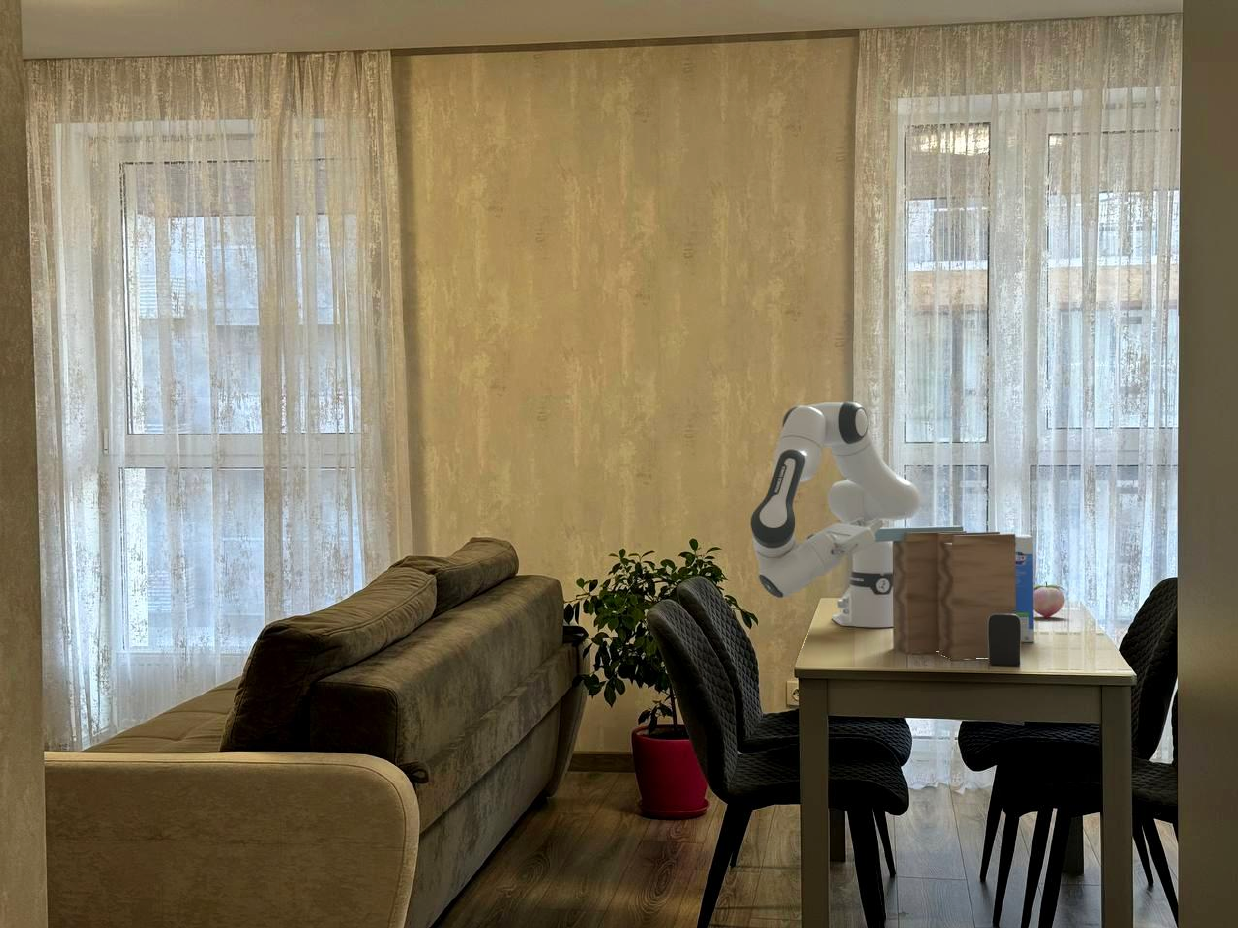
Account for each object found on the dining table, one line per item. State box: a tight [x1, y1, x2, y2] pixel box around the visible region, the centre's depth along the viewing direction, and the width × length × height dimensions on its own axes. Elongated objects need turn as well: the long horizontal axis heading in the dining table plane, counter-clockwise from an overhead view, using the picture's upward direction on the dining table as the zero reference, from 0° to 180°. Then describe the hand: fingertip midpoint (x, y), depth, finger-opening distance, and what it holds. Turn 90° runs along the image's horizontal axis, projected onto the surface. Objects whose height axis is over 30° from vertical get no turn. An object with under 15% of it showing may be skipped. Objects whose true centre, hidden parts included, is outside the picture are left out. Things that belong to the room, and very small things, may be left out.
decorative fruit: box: [1033, 581, 1066, 619], centre depth 351 cm, size 9×8×10 cm
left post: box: [892, 530, 968, 654], centre depth 300 cm, size 8×15×28 cm, turn 102°
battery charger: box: [988, 613, 1022, 667], centre depth 279 cm, size 7×4×11 cm, turn 77°
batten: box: [874, 525, 964, 542], centre depth 299 cm, size 4×22×3 cm, turn 102°
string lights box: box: [1015, 534, 1035, 643], centre depth 313 cm, size 13×8×26 cm, turn 80°
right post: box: [938, 531, 1016, 661], centre depth 290 cm, size 8×15×28 cm, turn 102°
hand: (873, 520), depth 297 cm, fingers open, 8 cm apart
